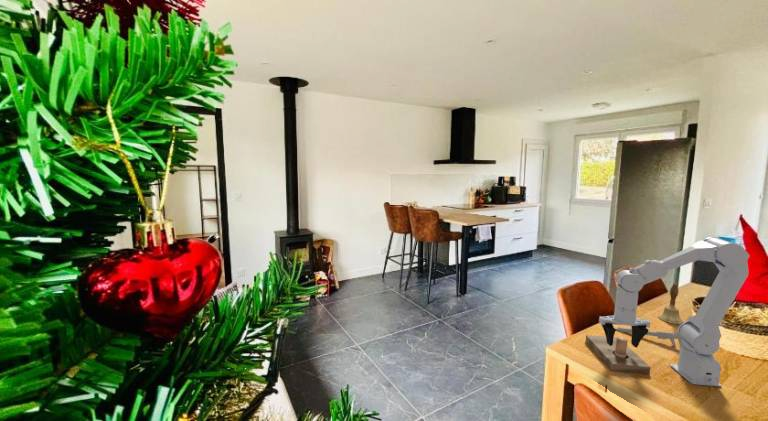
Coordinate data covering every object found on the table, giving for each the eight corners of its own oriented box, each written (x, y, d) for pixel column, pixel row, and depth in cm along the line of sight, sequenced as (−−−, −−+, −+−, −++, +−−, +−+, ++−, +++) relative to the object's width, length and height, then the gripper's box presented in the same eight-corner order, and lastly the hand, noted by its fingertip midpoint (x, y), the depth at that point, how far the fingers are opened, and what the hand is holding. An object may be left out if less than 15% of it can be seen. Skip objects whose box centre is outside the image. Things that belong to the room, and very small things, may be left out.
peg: (627, 364, 106) (629, 342, 105) (616, 363, 107) (619, 341, 106) (622, 359, 109) (624, 337, 108) (612, 357, 110) (614, 336, 109)
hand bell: (655, 313, 143) (660, 279, 141) (680, 318, 139) (685, 283, 136) (660, 321, 136) (664, 285, 134) (686, 326, 132) (691, 289, 129)
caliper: (681, 347, 116) (683, 331, 116) (681, 349, 116) (684, 332, 115) (613, 329, 130) (615, 314, 129) (613, 330, 129) (614, 315, 128)
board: (649, 374, 101) (650, 367, 101) (611, 370, 103) (612, 363, 102) (617, 343, 119) (617, 337, 118) (585, 341, 120) (586, 334, 120)
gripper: (642, 302, 108) (638, 340, 110) (595, 300, 110) (592, 337, 112) (656, 312, 101) (651, 351, 103) (606, 309, 103) (603, 348, 105)
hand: (621, 345), depth 107 cm, fingers open, 7 cm apart
